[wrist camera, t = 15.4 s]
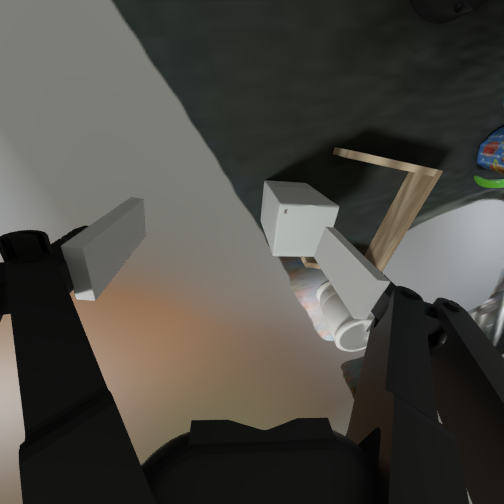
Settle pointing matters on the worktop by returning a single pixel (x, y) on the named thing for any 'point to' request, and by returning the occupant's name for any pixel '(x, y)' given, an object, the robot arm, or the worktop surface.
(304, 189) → the supplement box
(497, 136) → the snack cup
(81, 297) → the robot arm
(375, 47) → the worktop surface
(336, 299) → the jar
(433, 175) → the wooden u-shaped frame
